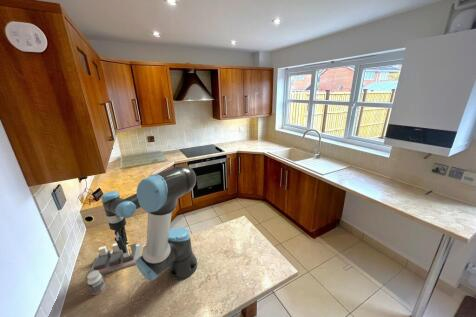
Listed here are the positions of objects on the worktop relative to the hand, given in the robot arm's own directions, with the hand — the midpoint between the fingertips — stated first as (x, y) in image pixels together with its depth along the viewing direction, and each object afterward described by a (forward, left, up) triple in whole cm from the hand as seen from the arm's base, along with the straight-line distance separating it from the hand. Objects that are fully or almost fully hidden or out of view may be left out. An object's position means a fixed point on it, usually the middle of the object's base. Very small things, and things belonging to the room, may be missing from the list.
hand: (126, 255), depth 107 cm
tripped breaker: (+2, 0, -1) cm, 3 cm away
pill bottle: (-12, +11, -6) cm, 18 cm away
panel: (+6, +7, -6) cm, 11 cm away
